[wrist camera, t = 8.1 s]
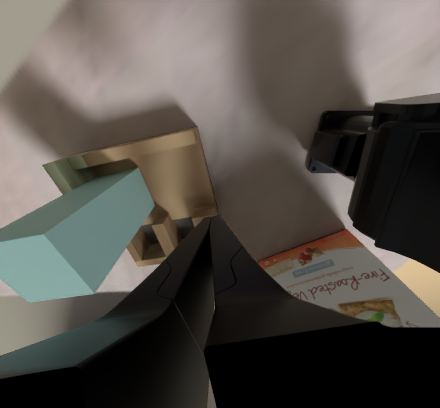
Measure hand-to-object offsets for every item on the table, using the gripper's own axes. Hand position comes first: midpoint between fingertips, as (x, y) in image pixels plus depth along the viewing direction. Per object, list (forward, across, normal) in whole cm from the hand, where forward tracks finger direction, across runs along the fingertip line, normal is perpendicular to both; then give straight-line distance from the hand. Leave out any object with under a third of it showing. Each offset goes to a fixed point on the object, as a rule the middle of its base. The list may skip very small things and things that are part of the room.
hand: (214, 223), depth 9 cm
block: (+12, +11, +1) cm, 17 cm away
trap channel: (+13, +8, +4) cm, 16 cm away
